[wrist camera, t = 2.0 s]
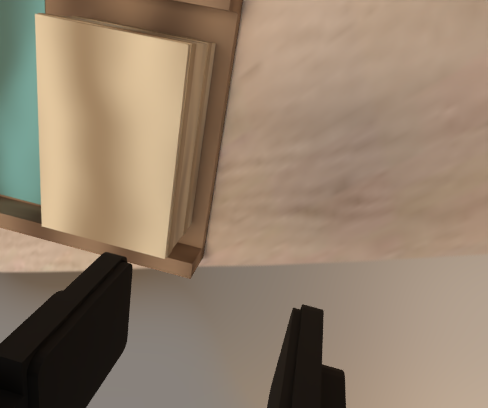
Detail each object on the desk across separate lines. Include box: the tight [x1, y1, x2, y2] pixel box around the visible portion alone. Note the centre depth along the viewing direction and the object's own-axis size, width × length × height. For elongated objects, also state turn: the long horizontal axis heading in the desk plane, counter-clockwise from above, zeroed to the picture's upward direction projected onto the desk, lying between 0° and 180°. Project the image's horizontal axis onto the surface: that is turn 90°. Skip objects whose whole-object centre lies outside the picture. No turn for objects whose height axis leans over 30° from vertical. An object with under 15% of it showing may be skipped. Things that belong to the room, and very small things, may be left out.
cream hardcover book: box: [35, 13, 216, 259], centre depth 24 cm, size 8×12×5 cm
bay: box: [0, 0, 243, 279], centre depth 27 cm, size 22×18×3 cm
